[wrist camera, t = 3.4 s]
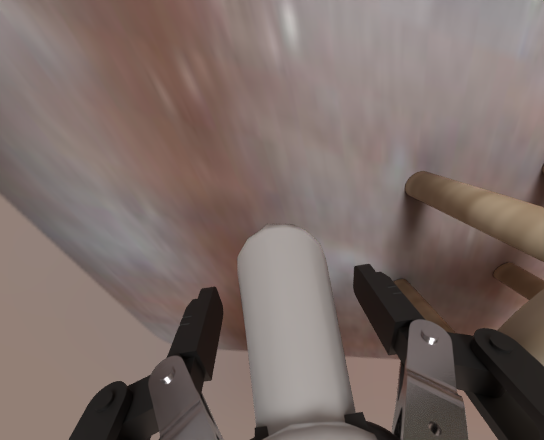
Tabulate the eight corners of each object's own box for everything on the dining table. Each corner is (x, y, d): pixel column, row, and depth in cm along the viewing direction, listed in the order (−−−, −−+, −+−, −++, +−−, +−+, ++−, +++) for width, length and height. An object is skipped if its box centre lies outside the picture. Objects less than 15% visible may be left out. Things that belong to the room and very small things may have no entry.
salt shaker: (327, 222, 15) (587, 600, 3) (300, 280, 17) (391, 620, 5) (249, 202, 14) (205, 664, 2) (232, 267, 16) (165, 654, 4)
